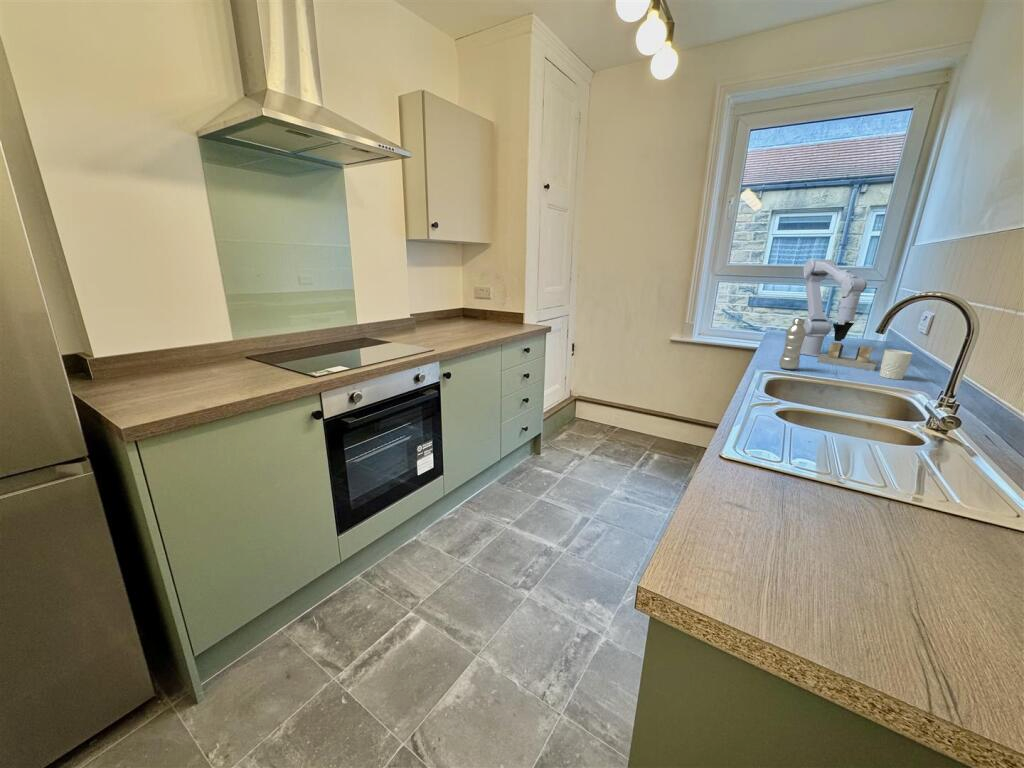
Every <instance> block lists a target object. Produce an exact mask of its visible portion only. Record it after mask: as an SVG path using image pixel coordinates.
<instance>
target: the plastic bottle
mask: <svg viewBox="0 0 1024 768" xmlns="http://www.w3.org/2000/svg"><path fill="white" fill-rule="evenodd" d="M804 322H805V318H796V317H795V318H793V320H792V325H790V326H789V328H787V330H786V331H785V342H784V349H783V351H782V355H781V357H780V359H779V362H778V363H779V367H780V368H782V369H784V370H796V369H798V368H799V366H800V355H801V354H800V350H801V346H802V343H803V340H804V338H805V336H806V330H805V328H804V327H803V324H804Z"/></svg>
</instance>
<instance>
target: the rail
mask: <svg viewBox="0 0 1024 768" xmlns="http://www.w3.org/2000/svg"><path fill="white" fill-rule="evenodd" d="M827 356H828V353H822V354H821V355H820V356H818V357H817V360H816V363H819V362H820V364H827V365H832V364H833V366H838V365H839V367H844V366H845V368H851V367H852V369H857V368H858V370H863V369H865V371H870V370H872V371H871V372H875V370H876V369H875V368H877V365H878V361H877V360H876V361H874V360H869V362H868V363H866V362H859V361H857V360H855V359H856V357H855V358H854V357H847V356H842V355H841V357H839V358H832V357H827Z"/></svg>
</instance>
